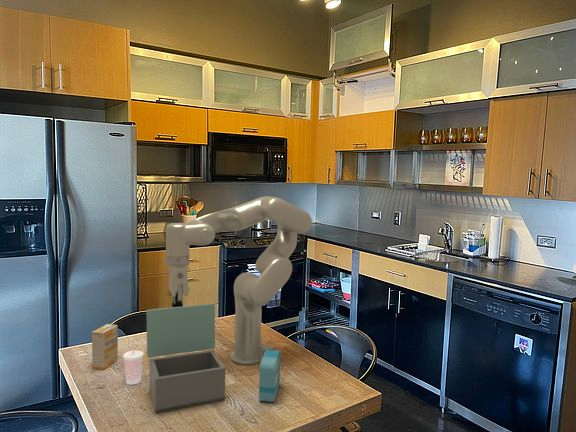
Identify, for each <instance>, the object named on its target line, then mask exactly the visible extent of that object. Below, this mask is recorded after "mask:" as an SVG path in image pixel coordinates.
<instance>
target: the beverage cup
mask: <svg viewBox="0 0 576 432" xmlns="http://www.w3.org/2000/svg"><path fill="white" fill-rule="evenodd" d="M143 357H144V351H142V350H136V349H135V338H132V350H129V351H126V352H125V353H123V360H124V371H125V381H126V384H127V385H137V384H139V383H141V382H142V371H143V370H142V369H143Z"/></svg>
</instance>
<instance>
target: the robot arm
mask: <svg viewBox="0 0 576 432" xmlns="http://www.w3.org/2000/svg"><path fill="white" fill-rule="evenodd" d="M265 221H270V222H274V223H276V225H277V233H276V236H275V238H274V239H273V240H272V242H271V243H270V244H269V245H268V247H266V249H265V250H264V251H263V252H261V254H260V255H259V257H258V258H257V259H256V262H255V270H256V271H257V272H258V274H259V275H257V274H255V273H253V272H243V273H240V274H239V275H238V276H236V278H235V280H234V283H233V295H234V305H235V307H234V309H235V315H234V316H235V318H234V322H235V324H234V350H233V351H232V352H231V353H230V356H229V357H230V360H231V361H232V362H234V363H235V364H239V365H255V364H258V363H259V364H260V363H261V360H262V358H263V356H264V354H265V351H266V350H274V346H273V345H271V344H270V345H268V344H267V343H265V344H262V343H261V341H262V339H261V338H262V306H265V305H268V304H269V303H270V301H272V300H273V298H275V296H277V294H278V293H279V292H280V290H281V289H282V288H283V287H284V285H286V283H287V282H288V281H289V279H290V278H291V275H292V271H293V264H292V262H291V260H290V259H289V258H290V256H292V254H293V253H294V251H295V249H296V247H297V245H298V234H299V235H300V234H302V235H303V234H306V233H307V232H308V231H309V230H310V229H312V228H311V227H312V225H313V221H312V217H311V215H310V214H309V213H308V212H307V211H306V210H305V209H302V208H300V207H298V206H296V205H294V204H292V203H291V202H288V201H286V200H284V199H282V198H281V197H276V196H269V195H268V196H265V195H264V196H261V197H257V198H255V199H253V200H250V201H246V202H244V203H242V204H239V205H236V206H234V207H230V208H225V209H222V210H218V211H216V212H215V211H214V212H210V213H208V214H205V215H202V216H199V217H197V218H194V219H191V220H190V221H188V222H187V223H184V222H171V223H169V224H167V225H166V227H165V266H166V267H169V269H168V270H169V272H168V288H169V291H170V293H171V297H172V299H171V301H172V304H171V308H172V307H182V306H184V305H183V304H184V303H183V300H184V298H183V296H185V297H188V295H189V277H188V273H189V272H188V266H190V245H191V246H192V245H193V246H207V245H210V244H211V243H212V242H213V241H215V240H214V239H215V237H216V234H217V233H221V232H236V231H242V230H245V229H247V228H250V227H253V226H255V225H257V224H259V223H263V222H265Z"/></svg>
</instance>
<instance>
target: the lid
mask: <svg viewBox="0 0 576 432" xmlns="http://www.w3.org/2000/svg"><path fill="white" fill-rule="evenodd" d="M215 306H216V304H215V303H204V304H194V305H185V306H184V305H183V306H182V307H172V306H171V307H165V308H164V307H163V308H154V309H147V310H146V358H148V359H149V358H150V359H152V358H159V357H166V356H170V355H171V356H173V355H180V354H187V353H194V352H202V351H209V350H214V349H216V318H215V317H216V316H215V315H216V314H215V313H216V309H215V308H216V307H215Z"/></svg>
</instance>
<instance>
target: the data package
mask: <svg viewBox="0 0 576 432" xmlns="http://www.w3.org/2000/svg"><path fill="white" fill-rule="evenodd" d="M280 372H281V350H274V349H273V350H266V351H265V353H264V356H263V358H262V360H261V362H259V374H258V375H259V378H258V379H259V380H258V381H259V382H258V401H260V402H269V403H274V402H275V400H276V397H277V394H278V390H279V388H280V380H281V379H280V377H281V376H280V374H281V373H280Z"/></svg>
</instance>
